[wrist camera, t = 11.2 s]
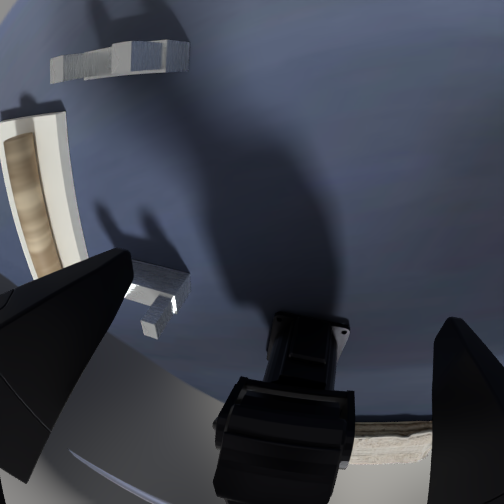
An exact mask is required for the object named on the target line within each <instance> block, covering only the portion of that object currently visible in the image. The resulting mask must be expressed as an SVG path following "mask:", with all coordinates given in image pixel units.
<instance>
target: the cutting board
mask: <svg viewBox="0 0 504 504" xmlns="http://www.w3.org/2000/svg"><path fill="white" fill-rule="evenodd" d="M30 132H32V133H33V139H34V147H35V154H36V161H37V167H38V173H39V179H40V184H41V190H42V195H43V199H44V204H45V209H46V213H47V217H48V221H49V225H50V229H51V233H52V237H53V241H54V244H55V248H56V251H57V255H58V258H59V261H60V265H61V268H65V267H67V266H70V265H72V264H75V263H78V262H80V261H83V260H85V259H88V258H89V257H88V253H87V249H86V245H85V241H84V236H83V232H82V227H81V222H80V217H79V212H78V207H77V201H76V195H75V189H74V183H73V177H72V169H71V162H70V154H69V145H68V135H67V123H66V111H64V112H55V113H47V114H39V115H32V116H26V117H20V118H14V119H8V120H3V121H1V122H0V159H1V165H2V170H3V176H4V180H5V185H6V190H7V194H8V198H9V202H10V206H11V210H12V214H13V218H14V221H15V225H16V228H17V232H18V235H19V238H20V242H21V245H22V248H23V251H24V254H25V257H26V260H27V263H28V265H29V268H30V271H31V274H32V276H33V279H34V280H36V279H38V277H37V274H36V271H35V268H34V266H33V263H32V260H31V257H30V254H29V251H28V248H27V245H26V241H25V238H24V235H23V231H22V228H21V224H20V221H19V217H18V213H17V210H16V206H15V201H14V197H13V193H12V188H11V184H10V179H9V174H8V169H7V163H6V157H5V151H4V144H3V142H4V141H5V140H7V139H9V138H11V137H14V136H17V135H20V134H24V133H30Z"/></svg>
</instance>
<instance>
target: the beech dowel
mask: <svg viewBox="0 0 504 504" xmlns="http://www.w3.org/2000/svg"><path fill="white" fill-rule="evenodd" d="M3 144H4V151H5V157H6V163H7V169H8V174H9V179H10V184H11V188H12V193H13V197H14V201H15V206H16V210H17V213H18V217H19V221H20V224H21V228H22V231H23V235H24V238H25V241H26V245H27V248H28V251H29V254H30V257H31V260H32V263H33V266H34V268H35V271H36V274H37V277H38V278H40V277H43V276H45V275H48V274H50V273H53V272H55V271H58V270H60V269H62V268H61V265H60V261H59V258H58V255H57V251H56V248H55V244H54V241H53V237H52V233H51V229H50V225H49V221H48V217H47V213H46V209H45V204H44V199H43V195H42V190H41V184H40V179H39V173H38V167H37V161H36V154H35V147H34V139H33V133H32V132H30V133H24V134H20V135H17V136H14V137H11V138H9V139H7V140H5V141H4V142H3Z"/></svg>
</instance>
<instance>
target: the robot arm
mask: <svg viewBox="0 0 504 504" xmlns="http://www.w3.org/2000/svg"><path fill="white" fill-rule="evenodd" d="M133 279H134V270H133V265H132V259H131V254H130V252H129V251H128V250H126V249H122V248H114V249H111V250H109V251H106V252H103V253H101V254H98V255H95V256H93V257H90V258H88V259H85V260H83V261H80V262H78V263H75V264H72V265H70V266H67V267H65V268H62V269H60V270H58V271H55V272H53V273H50V274H48V275H45V276H43V277H40V278H38V279H36V280H33V281H31V282H29V283H26V284H24V285H22V286H19V287H17V288H15V289H12V290H10V291H8V292H5V293H3V294H1V295H0V468H1V469H3V470H4V471H6V472H7V473H9V474H11V475H12V476H14V477H15V478H17V479H19V480H20V481H22V482H24V483H25V484H27V482H28V481H29V479H30V476H31V474H32V472H33V469H34V467H35V465H36V463H37V461H38V458H39V456H40V454H41V452H42V450H43V448H44V446H45V444H46V441H47V440H48V438H49V435H50V433H51V432H50V431H52V429H53V427H54V425H55V423H56V421H57V419H58V417H59V415H60V413H61V411H62V409H63V407H64V406H65V404H66V402H67V400H68V398H69V396H70V394H71V393H72V391H73V389H74V387H75V385H76V383H77V382H78V380H79V378H80V376H81V374H82V373H83V371H84V369H85V367H86V366H87V364H88V362H89V360H90V359H91V357H92V355H93V353H94V352H95V350H96V348H97V347H98V345H99V343H100V342H101V340H102V338H103V337H104V335H105V333H106V332H107V330H108V329H109V327H110V325H111V323H112V322H113V320H114V318H115V316H116V314H117V312H118V310H119V308H120V306H121V304H122V302H123V299H124V297H125V295H126V293H127V291H128V290H129V288H130V286H131V284H132V282H133ZM278 317H280V318H278ZM343 330H345V331H343ZM349 334H350V327H349V326H347V325H343V324H338V323H333V322H328V321H322V320H317V319H312V318H308V317H303V316H298V315H293V314H288V313H284V312H277V313H275V315H274V319H273V325H272V331H271V337H270V342H269V348H268V353H267V360H268V365H267V368H266V372H265V375H264V379H263V381H258V380H252V379H248V378H247V377H242V376H241V377H240V379H239V381H238V383H237V384H235V386H234V388H233V389H232V391H231V393H230V395H229V397H228V399H227V400H226V402H225V404H224V406H223V408H222V410H221V411H220V413H219V415H218V417H217V418H216V419H215V420H214V422H213V429H214V430H215V432H216V436H215V437H216V438H215V446H216V449H217V450H220V454H219V459H218V465H217V469H216V472H215V476H214V479H213V485H214V488H215V492H216V495H217V497H220V498H224V499H225V501H226V504H327V503H328V502H329V499H330V497H331V495H332V493H333V489H334V485H335V481H336V477H337V473H338V469H346V468H347V466H348V464H349V461H350V458H351V454H352V450H353V444H354V437H355V397H354V391H348V390H347V392H346V391H335V390H334V384H335V375H336V364H337V362H338V359H339V357H340V355H341V353H342V350H343V348H344V346H345V344H346V341H347V339H348V336H349ZM431 456H432V457H431V471H430V483H429V493H428V502H427V504H504V367H503V366H502V364H501V363H500V362H499V361H498V360H497V358H496V357H495V356H494V355H493V354H492V352H491V351H490V350H489V349H488V348H487V346H486V345H485V344H484V343H483V342H482V341H481V339H480V338H479V337H478V336H477V335H476V334H475V333H474V331H473V330H472V329H471V328H470V327H469V326H468V325H467V324H466V323H465V321H464V320H463V319H461V318H456V317H449V318H447V320H446V321H445V323H444V324H443V326H442V328H441V329H440V331H439V333H438V334H437V336H436V338H435V341H434V355H433V381H432V455H431ZM0 504H6V503H5V499H4V494H3V489H2V485H1V479H0Z"/></svg>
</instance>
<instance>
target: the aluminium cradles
mask: <svg viewBox="0 0 504 504" xmlns="http://www.w3.org/2000/svg"><path fill="white" fill-rule="evenodd" d="M189 54H190V43H189V42H182V41H175V40H158V41H149V42H145V41H127V42H121V43H115V44H112V47H109V48H104V49H99V50H94V51H89V52H85V53H81V54H70V55H62V56H58V57H55V58H52V59H50V84H53V83H58V82H63V81H68V80H73V79H79V78H84V80H90V79H97V78H105V77H113V76H122V75H133V74H146V73H163V72H182V71H189ZM132 265H133V270H134V279H133V282H132V284H131V286H130V288H129V290H128V291H127V293H126V295H125V297H124V298H127V299H130V300H133V301H136V302H139V303H142V304H146V305H149V306H150V308H149V309H148V310H147V312H146V313H145V315H144V316H143V317H142V319H141V324H142V328H143V332H144V335H147V336H150V337H152V338H155V339H158V338H159V336H160V335H161V333H162V332H163V330H164V328H165V327H166V325H167V324H168V322H169V321H170V319H171V317H172V316H173V314H174V313H176V314H177V313H178V311H179V310H180V308H181V307H182V305H183V303H184V302H185V300H186V299H187V297H188V295H189V294H190V292H191V281H190V273H186V272H182V271H178V270H174V269H170V268H166V267H162V266H158V265H154V264H150V263H146V262H142V261H138V260H134V259H132Z"/></svg>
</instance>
